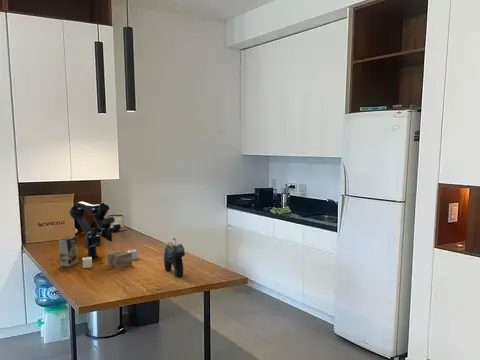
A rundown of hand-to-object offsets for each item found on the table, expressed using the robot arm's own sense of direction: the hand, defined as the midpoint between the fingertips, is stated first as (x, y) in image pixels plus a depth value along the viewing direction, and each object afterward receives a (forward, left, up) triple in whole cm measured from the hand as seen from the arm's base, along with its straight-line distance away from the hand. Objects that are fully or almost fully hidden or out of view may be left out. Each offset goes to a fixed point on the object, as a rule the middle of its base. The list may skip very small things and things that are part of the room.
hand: (111, 241), depth 267 cm
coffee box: (-8, -24, -13) cm, 29 cm away
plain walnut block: (+8, +4, -13) cm, 16 cm away
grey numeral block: (-5, +12, -13) cm, 18 cm away
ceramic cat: (+39, +29, -13) cm, 50 cm away
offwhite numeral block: (+2, -14, -13) cm, 20 cm away
